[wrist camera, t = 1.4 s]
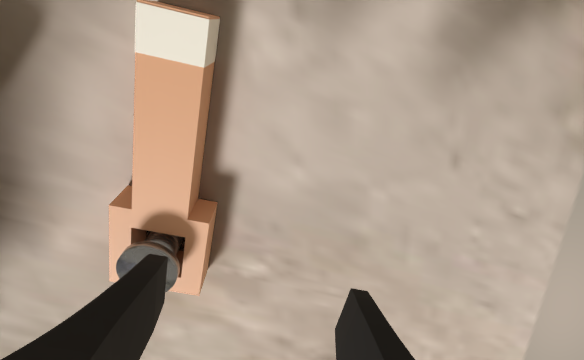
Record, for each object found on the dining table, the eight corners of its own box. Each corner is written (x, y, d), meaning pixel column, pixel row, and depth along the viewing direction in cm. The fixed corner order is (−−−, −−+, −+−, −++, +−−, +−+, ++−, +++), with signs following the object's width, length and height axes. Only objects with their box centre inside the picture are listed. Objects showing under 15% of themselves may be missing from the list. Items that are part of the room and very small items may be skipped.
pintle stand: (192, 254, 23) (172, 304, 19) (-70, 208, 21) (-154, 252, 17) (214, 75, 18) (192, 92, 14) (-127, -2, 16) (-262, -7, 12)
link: (207, 269, 23) (198, 296, 21) (126, 255, 23) (108, 281, 21) (244, 22, 17) (237, 23, 14) (131, -5, 16) (106, -8, 14)
